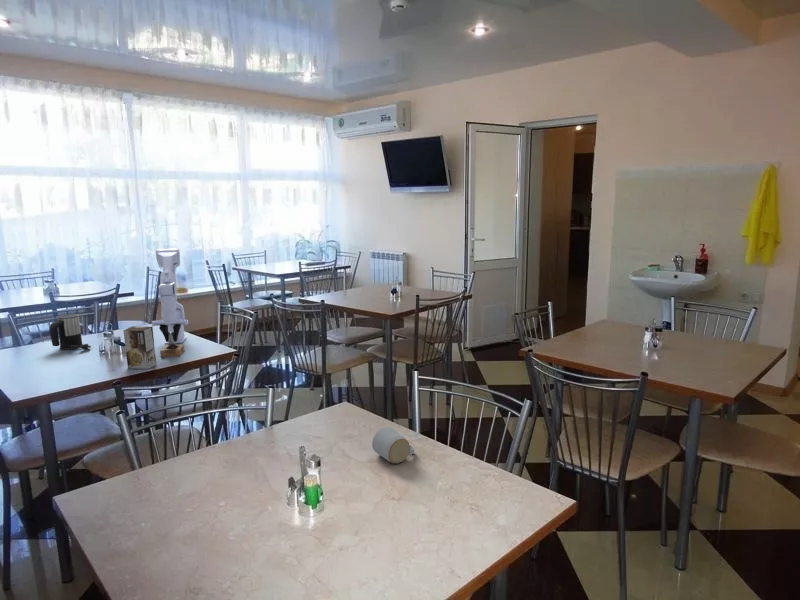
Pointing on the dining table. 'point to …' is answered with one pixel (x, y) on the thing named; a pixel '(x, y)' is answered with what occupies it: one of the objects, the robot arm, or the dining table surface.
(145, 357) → the coffee box
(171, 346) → the needle peg
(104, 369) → the dining table surface
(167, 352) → the bead block
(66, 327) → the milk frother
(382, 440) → the ceramic mug
